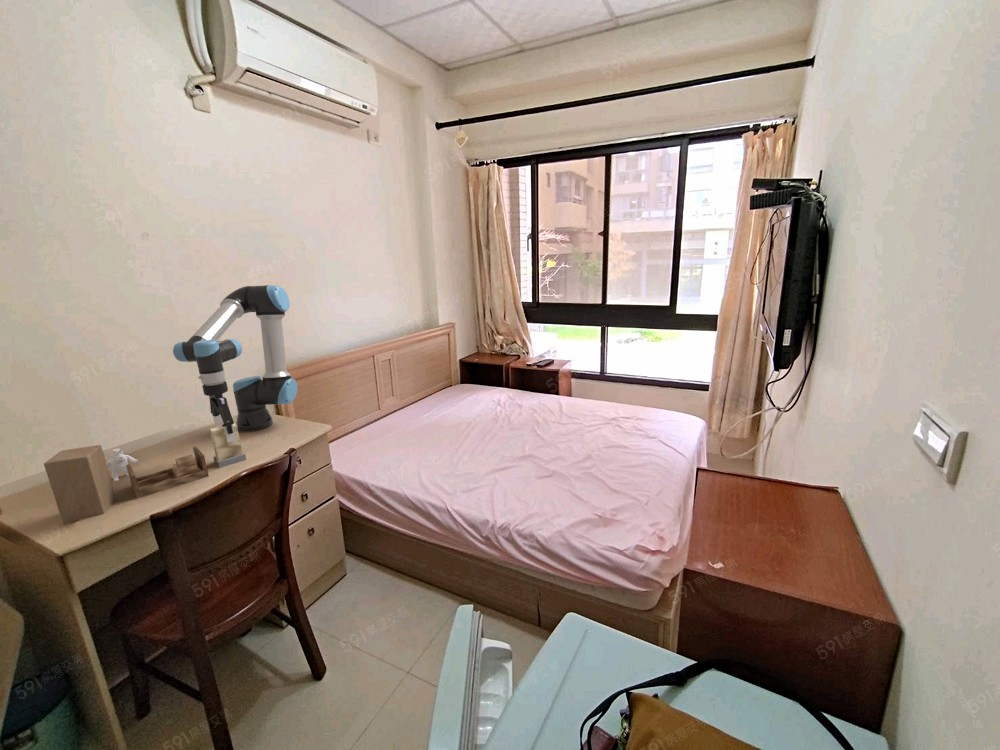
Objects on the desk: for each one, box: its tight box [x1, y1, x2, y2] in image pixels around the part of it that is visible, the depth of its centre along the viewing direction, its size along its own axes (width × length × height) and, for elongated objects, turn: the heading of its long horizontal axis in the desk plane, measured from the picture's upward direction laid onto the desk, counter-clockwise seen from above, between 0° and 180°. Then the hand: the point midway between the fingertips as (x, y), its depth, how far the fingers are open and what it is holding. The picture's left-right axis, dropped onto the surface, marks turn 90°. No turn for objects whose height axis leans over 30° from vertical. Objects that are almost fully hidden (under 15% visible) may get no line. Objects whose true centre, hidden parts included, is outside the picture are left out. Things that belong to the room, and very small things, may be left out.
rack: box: [126, 446, 210, 499], centre depth 150 cm, size 20×12×9 cm, turn 136°
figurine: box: [106, 448, 139, 482], centre depth 154 cm, size 9×7×12 cm
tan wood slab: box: [209, 422, 244, 464], centre depth 164 cm, size 8×4×14 cm, turn 136°
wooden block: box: [43, 444, 117, 525], centre depth 132 cm, size 10×10×20 cm
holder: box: [213, 453, 247, 469], centre depth 165 cm, size 10×10×3 cm
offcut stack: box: [171, 454, 201, 478], centre depth 154 cm, size 7×8×6 cm
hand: (226, 436), depth 164 cm, fingers open, 13 cm apart
